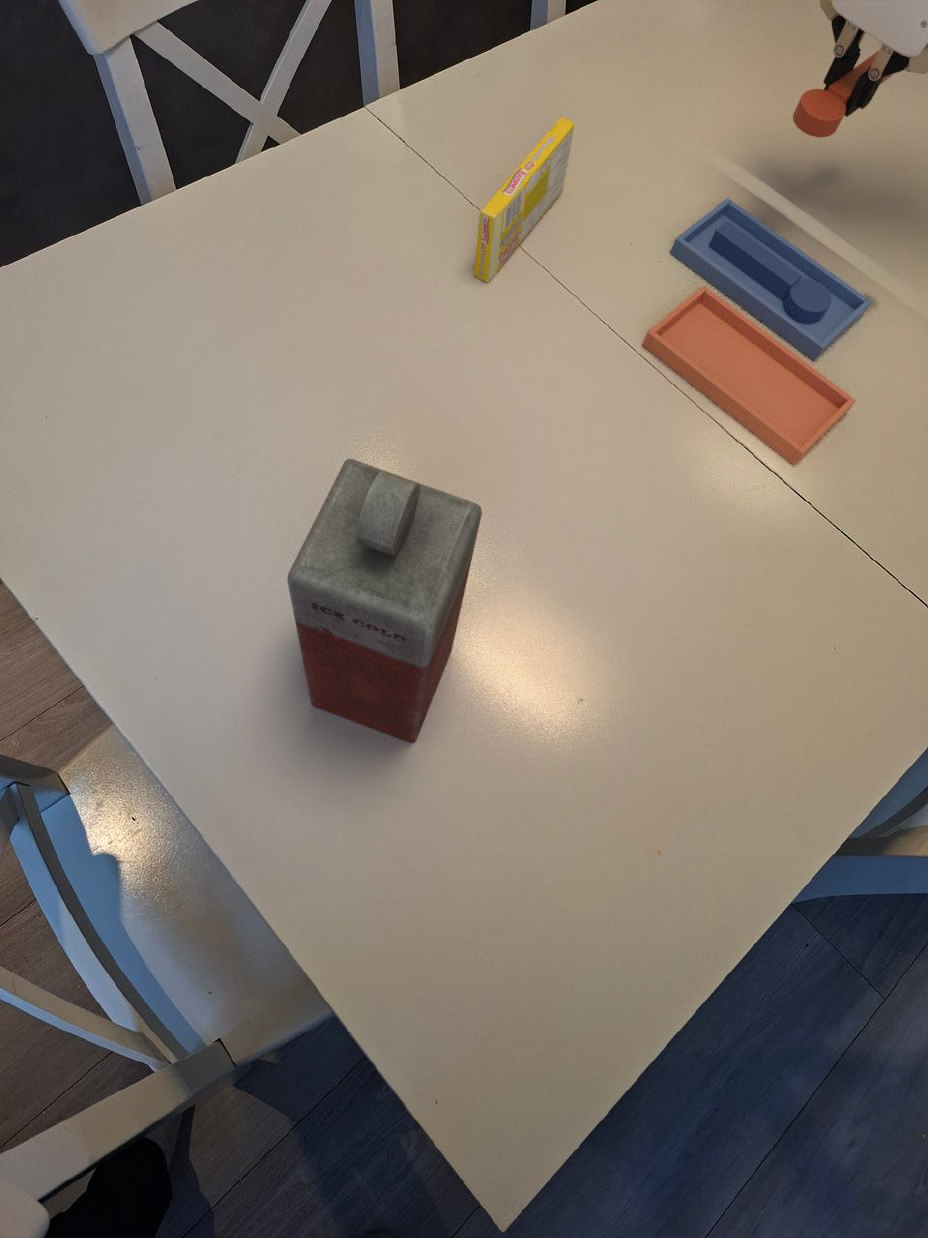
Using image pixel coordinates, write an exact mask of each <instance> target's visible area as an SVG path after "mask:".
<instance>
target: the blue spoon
mask: <svg viewBox="0 0 928 1238" xmlns="http://www.w3.org/2000/svg"><path fill="white" fill-rule="evenodd" d="M709 247H710V248H712V249H713V250H714V251H716V252H717V253H719V254H720V255H721V256H723V257H724V258H725V259H727V260H728V261H729V262H731V263H732V264H733V265H735V266H736V267H737V268H739V269H740V270H742V271H743V272H744V273H746V274H747V275H748V276H750V277H751V278H752V279H754V280H755V281H756V282H758V283H759V284H760V285H762V286H763V287H764V288H766V289H767V290H769V291H770V292H771V293H773V294H774V295H775V296H777V297H778V298H779V299H781V300H782V301H783V307H784V310H785V312H786V313H787V314H788V315H789V316H790V317H791V318H792V319H794V320H795V321H797V322H800V323H804V324H813V323H816V322H818V321H820V320H821V319H822V317H823V316H824V314H825V313H826V311H827V310H828V308H829V307H830V305H831V302H832V297H831V294H830V292H829V290H828V289H827V288H826V287H825V286H824V285H823V284H821V283H819V282H817V281H815V280H811V279H801V278H802V275H800V274H799V273H798V272H796V271H795V270H793V269H792V268H791V267H789V266H788V265H787V264H785V263H784V262H782V261H781V260H780V259H778V258H777V257H776V256H774V255H773V254H771V253H770V252H769V251H767V250H766V249H765V248H763V247H762V246H760V245H759V244H758V243H756V242H755V241H754V240H752V239H751V238H749V237H748V236H747V235H745V234H744V233H743V232H741V231H740V230H738V229H737V228H736V227H734V226H733V225H732V224H730V223H729V222H727V221H726V222H725V223H724V224H723V225H721V226H720V227H719V228H718V229H716V231H715V233H714V235H713V237H712V240H711V242H710V244H709ZM800 279H801V280H800Z"/></svg>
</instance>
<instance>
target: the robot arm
mask: <svg viewBox="0 0 928 1238" xmlns="http://www.w3.org/2000/svg"><path fill="white" fill-rule="evenodd" d="M819 5H820V8H821V10H822V11H823V13H824V14H825V16H826V17H827V19H828V21H830V22H831V23H830V24H831V31H832V34H833V39H834V43H835V44H834V46H833V49H832V50H833V51H832V53H833V55H834V58H833V60H832V62H831V64H830V67H829V69H828V70H827V73H826V75H825V77H824V79H823V82H822V83H823V84H824V85H825V86H824V88H823V90H828V88H829V86H830V85H832V84H833V83H834V82H836V81H838V80H839V79H841V78H842V77H843V76H845V75H846V74H848V73H849V72H850V71H852V70H853V69H854V68H855V67H856V64H857V63H858V60H860V59H859V58H860V56H861V52H862V49H861V48H860V44H861V42H863V41H862V40H863V39H864V38H865V35H866V34H868V35H869V36H870V37H872V38H874V39H875V40H876V41H878V42H880V43H881V46H880V48H879V50H878V51H879V52H878V54H877V56H876V58H875V60H874V62H873V64H872V65H871V66H870V67H869V69H868V70H867V71H866V72H864V73H863V74H862V75H861V76H860V77H859V79H858V81H857V83H856V84H855V86H854V88H853V90H852V92H851V96H850V97H849V99H848V101H847V103H846V105H845V106H846V112H845V115H844V117H845V118H848V117H849V116H851V115H852V114H853V113H855V112H856V111H857V110H859V109H861V110H864V109H865V108H866V107H867V106H868V105H869V104H870V103H871V101H872V99H873V98H874V96H875V94H876V93H877V90H878V89H879V86H881V84H880V83H881V81H882V79H883V78H884V77H885V76H888V75H891V74H892V75H894V74H898V73H901V72H902V71H903V72H904V71H905V72H907V73H916V74H921V75H925V74H927V73H928V0H819Z"/></svg>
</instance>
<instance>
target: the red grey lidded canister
mask: <svg viewBox="0 0 928 1238" xmlns="http://www.w3.org/2000/svg"><path fill="white" fill-rule="evenodd" d="M482 512H483V511H482V507H481V506H480V505H479V504H478V503H476V502H474V501H470V500H468V499H465V498H462V497H459V496H457V495H453V494H451V493H448V492H445V491H442V490H440V489H437V488H434V487H432V486H430V485H429V486H428V485H426V484H424V483H421V482H418V481H415V480H412V479H409V478H407V477H404V476H402V475H398V474H396V473H392V472H389V471H387V470H384V469H381V468H378V467H376V466H373V465H370V464H368V463H364V462H362V461H359V460H356V459H353V458H347V459H346V460H345V461H344V462H343V463H342V466H341V468H340V470H339V472H338V474H337V476H336V478H335V480H334V482H333V484H332V486H331V488H330V490H329V492H328V494H327V495H326V497H325V499H324V502H323V504H322V506H321V508H320V510H319V512H318V513H317V516H316V518H315V520H314V522H313V524H312V526H311V528H310V529H309V531H308V534H307V535H306V537H305V540H304V541H303V543H302V546H301V547H300V550H299V551H298V553H297V555H296V557H295V559H294V561H293V564H292V566H291V567H290V570H289V571H288V574H287V586H288V591H289V597H290V603H291V607H292V613H293V618H294V623H295V627H296V633H297V638H298V642H299V648H300V652H301V653H300V654H301V658H302V662H303V668H304V673H305V678H306V684H307V687H308V688H307V689H308V694H309V699H310V704H311V706H312V707H313V708H315V709H318V710H321V711H324V712H327V713H329V714H332V715H335V716H337V717H339V718H342V719H345V720H347V721H351V722H353V723H356V724H358V725H362V726H364V727H366V728H369V729H372V730H375V731H377V732H380V733H382V734H385V735H388V736H390V737H393V738H396V739H398V740H401V741H403V742H406V743H409V744H414V743H416V742H417V740H418V737H419V735H420V732H421V729H422V727H423V724H424V722H425V720H426V717H427V714H428V711H429V709H430V707H431V705H432V702H433V699H434V696H435V694H436V691H437V689H438V686H439V684H440V682H441V679H442V677H443V674H444V671H445V669H446V666H447V663H448V662H449V659H450V656H451V654H452V651H453V647H454V641H455V637H456V633H457V628H458V625H459V624H458V623H459V619H460V614H461V611H462V606H463V601H464V597H465V592H466V588H467V583H468V579H469V573H470V569H471V564H472V561H473V556H474V551H475V546H476V542H477V538H478V533H479V528H480V524H481V520H482V514H483V513H482Z"/></svg>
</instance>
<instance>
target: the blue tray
mask: <svg viewBox="0 0 928 1238" xmlns="http://www.w3.org/2000/svg"><path fill="white" fill-rule="evenodd" d="M726 221H727V222H729V223H730V224H732V225H733V226H734V227H736V228H737V229H738V230H740V231H741V232H743V233H744V234H745V235H747V236H748V237H749V238H751V239H752V240H754V241H755V242H756V243H758V244H759V245H760V246H762V247H763V248H765V249H766V250H767V251H769V252H770V253H771V254H773V255H774V256H776V257H777V258H778V259H780V260H781V261H782V262H784V263H785V264H787V265H788V266H789V267H791V268H792V269H793V270H795V271H796V272H798V273H799V274H800V275H802V278H801V279H811V280H815V281H817V282H819V283H821V284H823V285H824V286H825V287H826V288H827V289H828V290H829V292H830V294H831V297H832V302H831V305H830V307H829V308H828V310H827V311H826V313H825V314H824V316H823V317H822V319H821V320H820V321H818V322H816V323H813V324H804V323H800V322H797V321H795V320H794V319H792V318H791V317H790V316H789V315H788V314H787V313H786V312H785V310H784V307H783V301H782V300H781V299H779V298H778V297H777V296H775V295H774V294H773V293H771V292H770V291H769V290H767V289H766V288H764V287H763V286H762V285H760V284H759V283H758V282H756V281H755V280H754V279H752V278H751V277H750V276H748V275H747V274H746V273H744V272H743V271H742V270H740V269H739V268H737V267H736V266H735V265H733V264H732V263H731V262H729V261H728V260H727V259H725V258H724V257H723V256H721V255H720V254H719V253H717V252H716V251H714V250H713V249H712V248H710V247H709V244H710V242H711V240H712V237H713V235H714V233H715V231H716V229H718V228H719V227H720V226H721V225H723V224H724V223H725V222H726ZM669 253H670V254H671V255H672V256H673V257H674V258H675V259H677V260H678V261H680V262H681V263H683V265H685V266H686V267H688V268H689V269H690V270H692V271H693V272H694V273H696V275H699V276H700V277H701V278H702V279H704V280H705V281H706V282H708V283H709V284H710V285H712V286H713V287H715V288H716V289H717V290H719V292H721V293H722V294H724V295H725V296H726V297H727V298H729V299H730V300H732V301H733V302H734V303H736V304H737V305H738V306H740V307H741V308H743V309H744V310H745V311H746V312H747V313H749V314H750V315H752V316H753V317H754V318H755V319H757V320H758V321H760V322H761V323H762V324H764V326H767V327H768V328H769V329H770V330H771V331H773V332H774V333H776V334H777V335H778V336H779V337H781V338H782V339H784V340H785V341H787V343H789V344H790V345H792V346H793V347H794V348H795V349H797V350H798V351H799V352H801V353H802V354H803V355H805V356H806V357H807V358H809V359H810V360H812V361H813V362H816V360H817V359H818V358H819V357H821V356H822V355H823V354H824V353H825V352H826V351H827V350H828V349H829V348H830V347H831V346H832V345H833V344H834V343H835V342H836V341H838V339H840V338H841V337H842V336H843V335H844V334H845V333H846V332H847V331H848V330H849V329H850V328H852V326H853V325H854V324H855V323H856V322H858V321H859V320H860V318H862V317H863V316H864V314H865V313H866V312H867V310H868V309H869V307H871V304H873V301H872V300H870V299H869V298H867V297H866V296H865V295H864V294H863V293H861V292H859V291H858V290H856V288H854V287H852V286H851V285H849V284H848V283H846V282H845V281H844V280H843V279H841V278H840V277H839V276H837V275H836V274H834V273H833V272H831V271H830V270H829V269H827V268H826V267H824V266H823V265H822V264H820V263H819V262H818V261H816V260H814V258H812V257H811V256H809V255H808V254H807V253H805V252H803V250H801V249H799V248H798V247H797V246H796V245H794V244H792V242H790V241H788V240H787V239H786V238H784V237H783V236H781V235H780V234H779V233H778V232H776V231H775V230H773V229H772V228H771V227H769V226H767V225H766V224H764V222H762V220H761V221H760V220H759V219H758V218H757V217H755V216H754V215H752V214H751V213H750V212H748V211H747V210H746V209H745V208H743V207H741V206H740V205H739V204H737V203H736V202H734V201H733V200H731V199H730V198H729V197H727V198H725V199H724V200H723V201H722V202H720V203H719V204H717V205H716V206H715V207H714V208H713V209H712V210H710V211H709V212H707V213H706V214H705V215H703V216H702V217H701V218H700V219H698V220H697V221H696V222H695V223H693V224H691V226H690V227H688V228H687V229H685V230H684V231H683V232H681V234H679V235H678V236H676V237H675V239H674V242H673V244H672V246H671V249H670V251H669ZM801 279H800V280H801Z"/></svg>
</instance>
